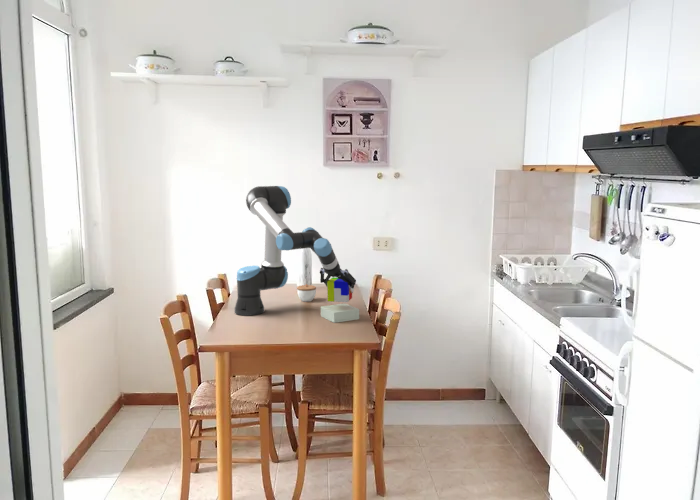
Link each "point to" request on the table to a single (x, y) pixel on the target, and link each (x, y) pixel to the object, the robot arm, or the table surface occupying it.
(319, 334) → the table surface
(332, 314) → the pedestal
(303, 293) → the lidded jar
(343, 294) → the puzzle toy
